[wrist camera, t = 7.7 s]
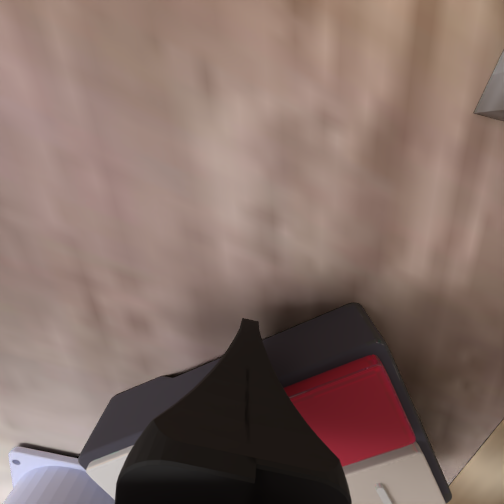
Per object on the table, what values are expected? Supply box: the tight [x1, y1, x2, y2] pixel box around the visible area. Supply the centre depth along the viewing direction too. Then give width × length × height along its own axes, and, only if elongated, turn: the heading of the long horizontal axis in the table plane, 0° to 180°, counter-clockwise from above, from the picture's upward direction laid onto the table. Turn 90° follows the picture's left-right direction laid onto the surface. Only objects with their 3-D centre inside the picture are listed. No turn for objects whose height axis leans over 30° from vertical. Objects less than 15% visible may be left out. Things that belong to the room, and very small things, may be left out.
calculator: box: [78, 303, 452, 504], centre depth 15 cm, size 11×4×15 cm
